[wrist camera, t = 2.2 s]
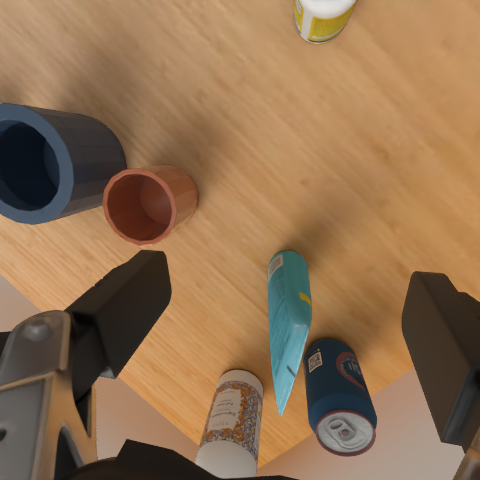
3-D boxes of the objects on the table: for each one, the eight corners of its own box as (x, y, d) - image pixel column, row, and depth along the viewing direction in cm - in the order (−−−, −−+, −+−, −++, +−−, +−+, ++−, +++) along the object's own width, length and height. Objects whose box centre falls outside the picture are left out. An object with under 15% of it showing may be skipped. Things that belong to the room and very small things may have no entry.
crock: (127, 183, 38) (88, 192, 31) (177, 152, 36) (148, 153, 29) (160, 236, 40) (130, 257, 32) (209, 209, 38) (190, 224, 30)
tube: (301, 296, 39) (316, 424, 21) (264, 290, 40) (248, 410, 22) (312, 242, 37) (339, 334, 19) (273, 236, 37) (262, 320, 19)
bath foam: (256, 364, 43) (234, 532, 24) (269, 402, 45) (258, 587, 26) (211, 371, 45) (158, 534, 26) (225, 408, 46) (185, 587, 28)
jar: (27, 144, 39) (-57, 143, 29) (91, 96, 36) (21, 77, 26) (78, 220, 41) (16, 242, 31) (143, 180, 38) (95, 191, 28)
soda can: (366, 359, 41) (397, 441, 29) (326, 385, 43) (341, 471, 31) (331, 324, 40) (350, 395, 28) (292, 353, 42) (295, 429, 31)
